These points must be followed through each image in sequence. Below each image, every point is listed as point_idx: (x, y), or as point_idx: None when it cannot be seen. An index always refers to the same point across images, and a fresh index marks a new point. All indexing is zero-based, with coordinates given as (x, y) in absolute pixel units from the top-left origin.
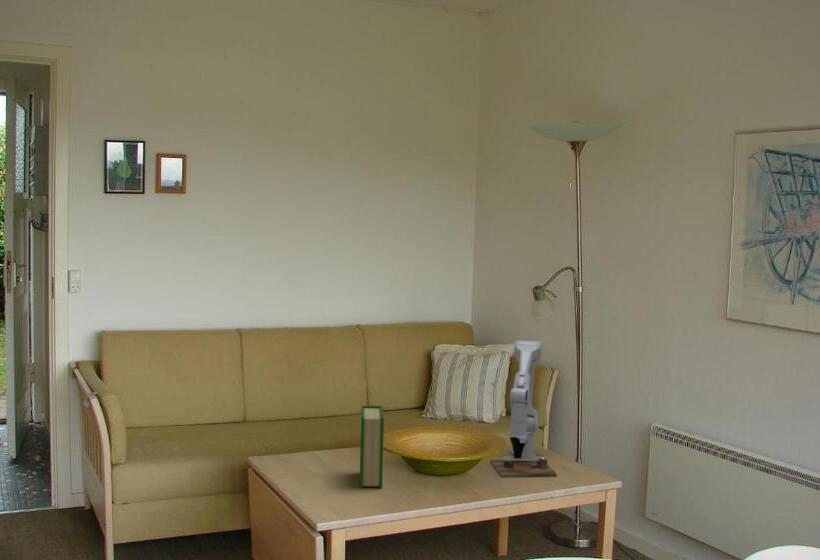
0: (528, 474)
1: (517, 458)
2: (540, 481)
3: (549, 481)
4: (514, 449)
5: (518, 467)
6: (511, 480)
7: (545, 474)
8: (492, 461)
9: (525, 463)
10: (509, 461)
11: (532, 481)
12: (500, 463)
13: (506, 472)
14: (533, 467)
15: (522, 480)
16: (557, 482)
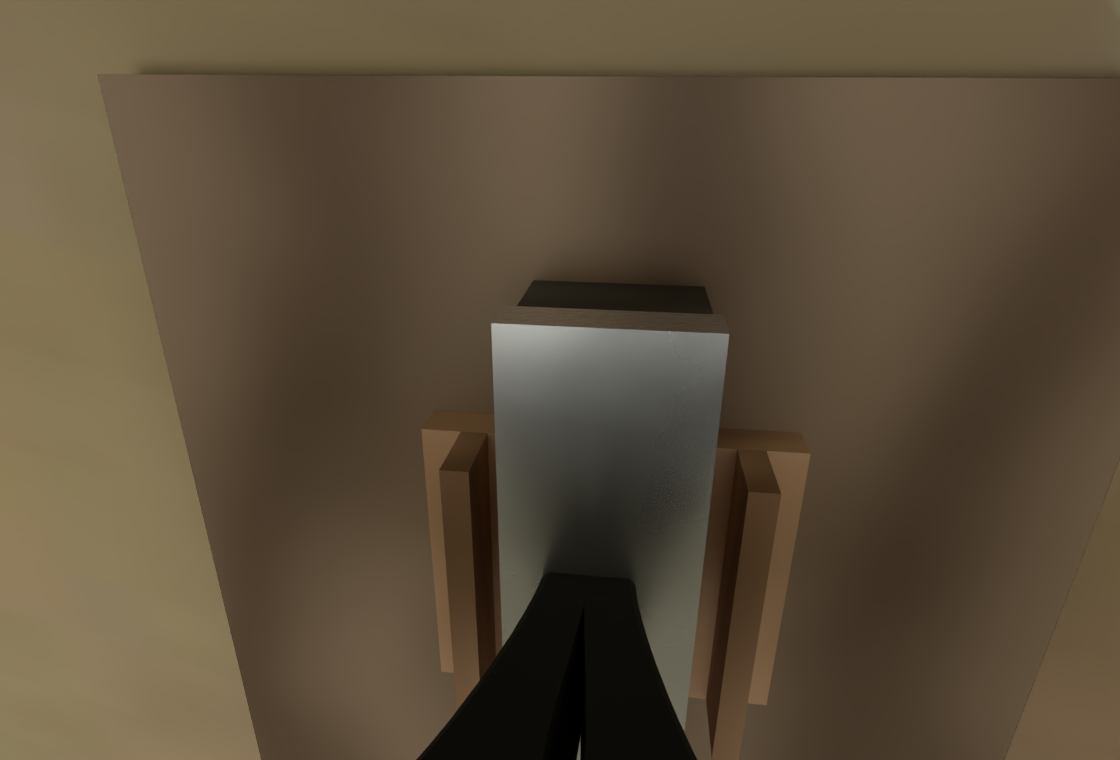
0: (213, 543)
1: (515, 606)
2: (73, 598)
3: (100, 685)
4: (436, 737)
5: (427, 498)
6: (8, 225)
7: (261, 732)
8: (1105, 104)
9: (457, 655)
10: None
11: (46, 509)
12: (880, 260)
13: (245, 220)
14: None
15: (55, 395)
16: (84, 742)
